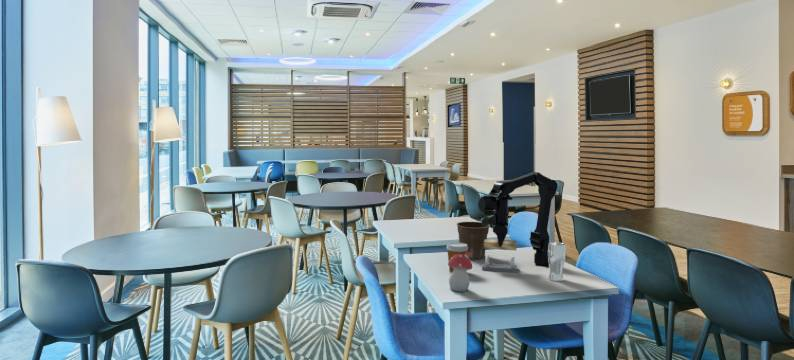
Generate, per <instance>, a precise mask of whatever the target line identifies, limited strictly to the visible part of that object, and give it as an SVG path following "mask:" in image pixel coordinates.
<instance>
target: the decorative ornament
mask: <svg viewBox="0 0 794 360" xmlns="http://www.w3.org/2000/svg"><path fill="white" fill-rule="evenodd" d="M471 256H472V254H471V253H470V252H466V253H465V255H463V254H456V255H454V256H453V257H452V258H451V259H450V260H449V261H448V262H447V266H448V267H449V266H450V267H452V268H453V269H454V270H453V272H452V273H451V272H450V273H451V274H450V275H449V278H448V284H449V288H450V290H452V291H454V292H460V293H461V292H463V293H464V292H467V291H468V289H469V286H470V284H471V283H470V282H471V281H470V280H471V279H470V276H469V274H468V272H467V271H469V270H470V271H471V270H472V269H473V263H472V261H471V259H469V257H471Z"/></svg>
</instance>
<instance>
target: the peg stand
mask: <svg viewBox="0 0 794 360" xmlns="http://www.w3.org/2000/svg"><path fill="white" fill-rule="evenodd" d="M481 270H482V271H488V272H489V271H490V272H503V273H518V265H517V264H515V256H511V257H510V264H507V263H506V264H505V263H504V264H503V263H493V262H490V255H489V254H485V262H483V263H482V266H481Z"/></svg>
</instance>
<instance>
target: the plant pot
mask: <svg viewBox="0 0 794 360" xmlns="http://www.w3.org/2000/svg"><path fill="white" fill-rule="evenodd" d="M456 226H457V233H458V243H465V244H467V246H468V250H467V252H470V253H471V254H472V256H471V257H469V260H474V259H475V260H480V259H485V258H486V250H487V249H484V240H485V239H488V235H489V231H490V227H491V224H489V225H487V226H483V224H482V221H481V222H480V221H459V222H457V223H456Z"/></svg>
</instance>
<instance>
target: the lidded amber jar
mask: <svg viewBox="0 0 794 360" xmlns="http://www.w3.org/2000/svg"><path fill="white" fill-rule="evenodd" d="M446 250H447V258H448V260H447V261H448V262H449V260H450V259H451V258H452V257H453V256H454V255H456V254H463V255H465V253H466V252H467V250H468V246H467V244H465V243H459V242H449V243H447V245H446ZM448 267H449V273H452V272H453V270H454V269H453V268H452V267H450V266H448Z"/></svg>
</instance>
